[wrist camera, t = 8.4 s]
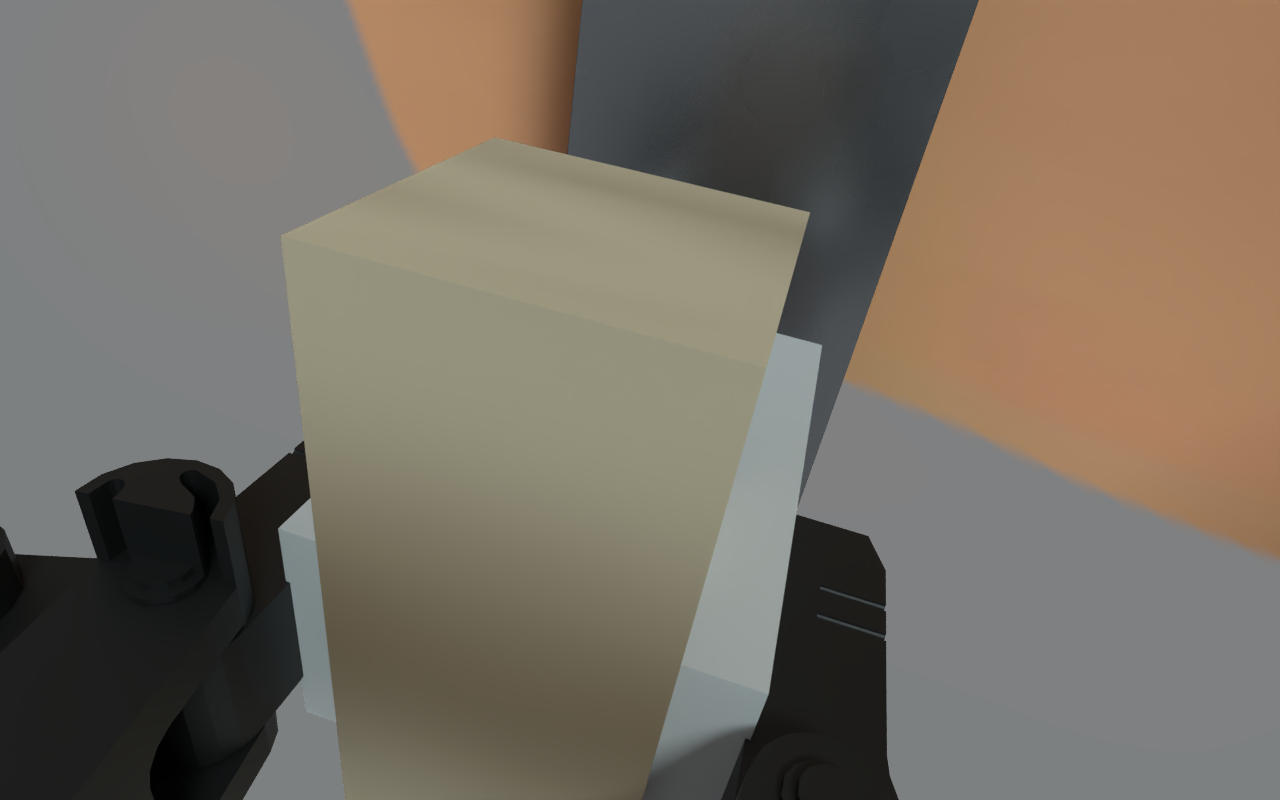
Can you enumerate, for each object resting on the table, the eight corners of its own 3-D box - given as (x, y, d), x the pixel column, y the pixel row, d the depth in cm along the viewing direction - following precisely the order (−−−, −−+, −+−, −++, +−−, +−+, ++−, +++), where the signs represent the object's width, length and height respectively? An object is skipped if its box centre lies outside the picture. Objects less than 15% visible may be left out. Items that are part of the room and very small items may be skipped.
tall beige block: (771, 574, 18) (678, 1102, 10) (538, 501, 19) (268, 927, 10) (1058, -234, 10) (2053, -1314, 1) (620, -296, 11) (-290, -1190, 2)
